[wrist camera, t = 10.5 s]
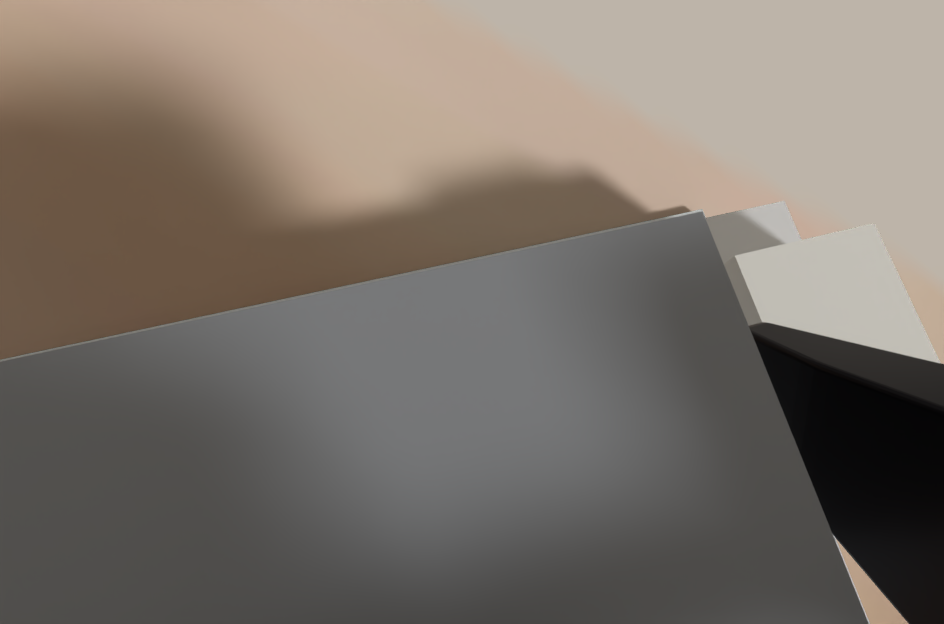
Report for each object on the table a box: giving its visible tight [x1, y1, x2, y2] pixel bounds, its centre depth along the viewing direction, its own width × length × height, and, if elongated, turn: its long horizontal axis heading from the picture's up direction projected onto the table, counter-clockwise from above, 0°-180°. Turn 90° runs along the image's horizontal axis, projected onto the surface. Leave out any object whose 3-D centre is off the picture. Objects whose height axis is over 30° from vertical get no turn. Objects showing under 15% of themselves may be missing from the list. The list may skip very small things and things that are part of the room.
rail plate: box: [0, 201, 940, 624], centre depth 13 cm, size 12×24×5 cm, turn 106°
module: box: [0, 212, 869, 624], centre depth 10 cm, size 4×6×11 cm
